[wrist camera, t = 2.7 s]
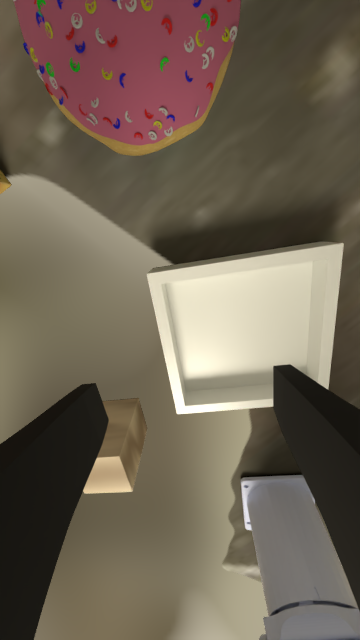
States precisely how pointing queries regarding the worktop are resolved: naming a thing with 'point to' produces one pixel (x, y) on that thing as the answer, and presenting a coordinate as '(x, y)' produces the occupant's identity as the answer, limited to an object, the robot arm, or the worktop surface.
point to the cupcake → (131, 64)
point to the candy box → (3, 183)
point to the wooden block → (119, 448)
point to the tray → (246, 323)
